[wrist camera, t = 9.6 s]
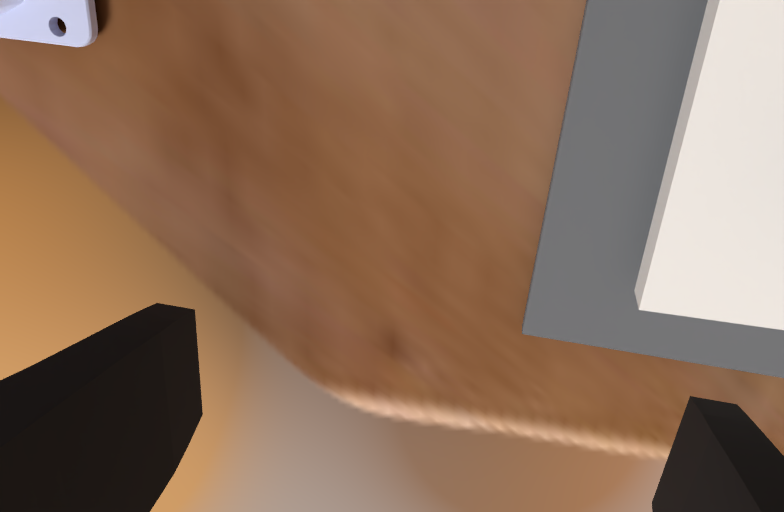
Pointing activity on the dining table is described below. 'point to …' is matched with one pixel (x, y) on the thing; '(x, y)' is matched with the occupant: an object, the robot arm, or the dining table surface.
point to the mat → (625, 194)
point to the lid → (724, 177)
